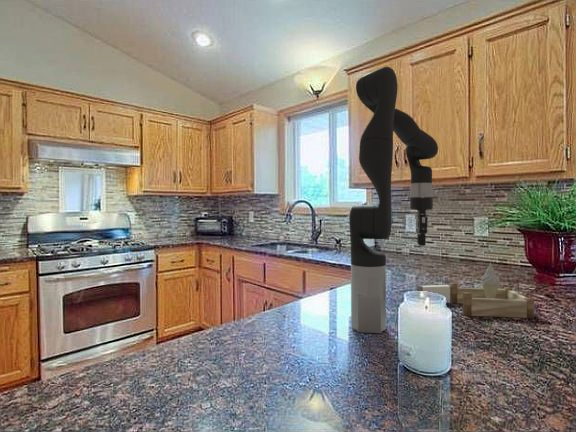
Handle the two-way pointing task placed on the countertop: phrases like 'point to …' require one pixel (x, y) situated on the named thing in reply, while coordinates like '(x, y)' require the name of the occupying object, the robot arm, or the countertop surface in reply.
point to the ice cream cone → (490, 282)
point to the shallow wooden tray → (492, 302)
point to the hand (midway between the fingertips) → (421, 244)
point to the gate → (436, 290)
